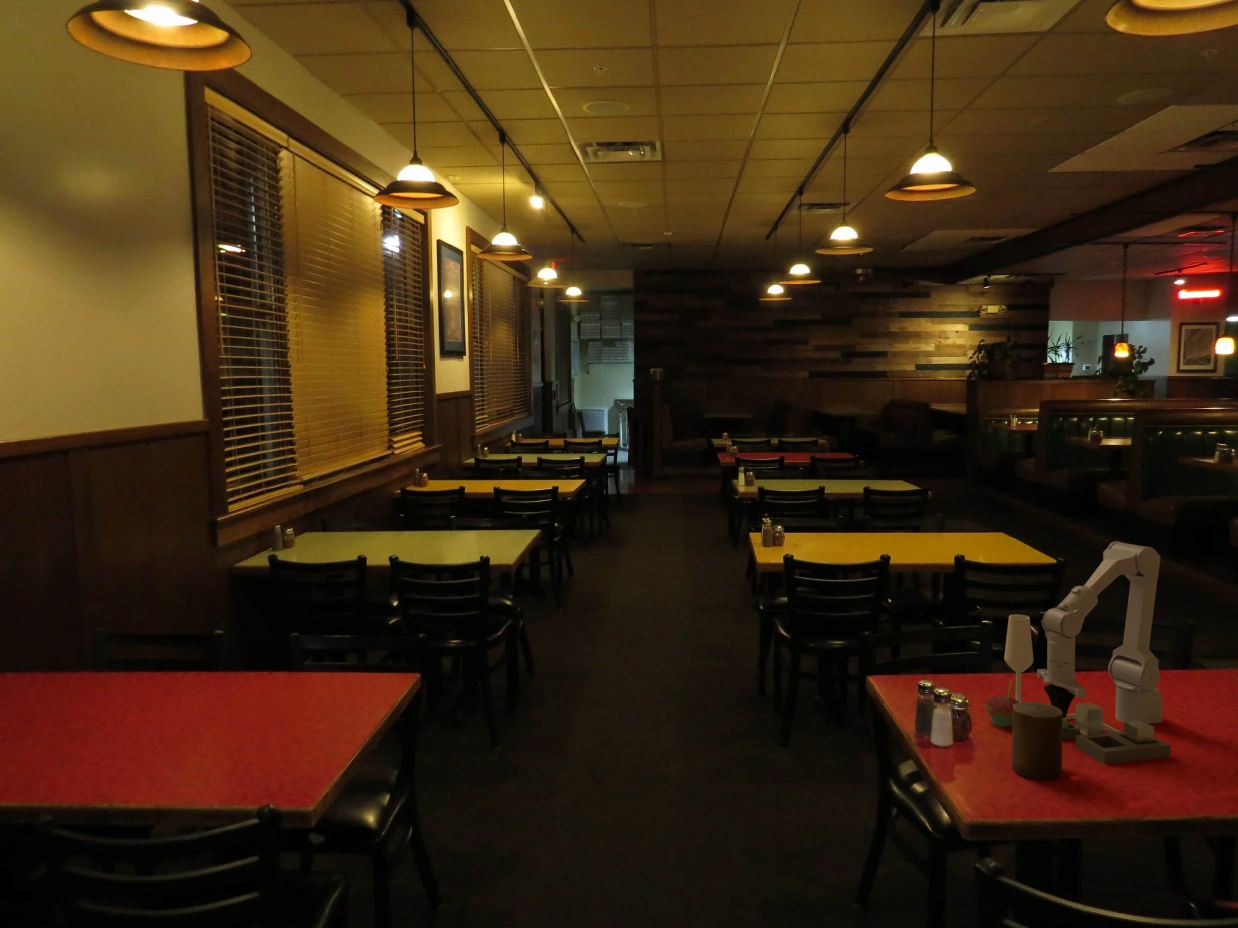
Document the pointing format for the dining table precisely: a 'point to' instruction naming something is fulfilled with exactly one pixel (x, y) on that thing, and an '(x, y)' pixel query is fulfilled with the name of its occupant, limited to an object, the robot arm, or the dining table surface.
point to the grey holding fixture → (1120, 748)
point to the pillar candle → (1037, 741)
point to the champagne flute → (1019, 647)
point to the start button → (1065, 724)
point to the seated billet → (1138, 732)
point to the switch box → (1070, 731)
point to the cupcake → (1001, 708)
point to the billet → (1089, 718)
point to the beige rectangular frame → (1105, 726)
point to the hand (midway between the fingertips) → (1060, 717)
